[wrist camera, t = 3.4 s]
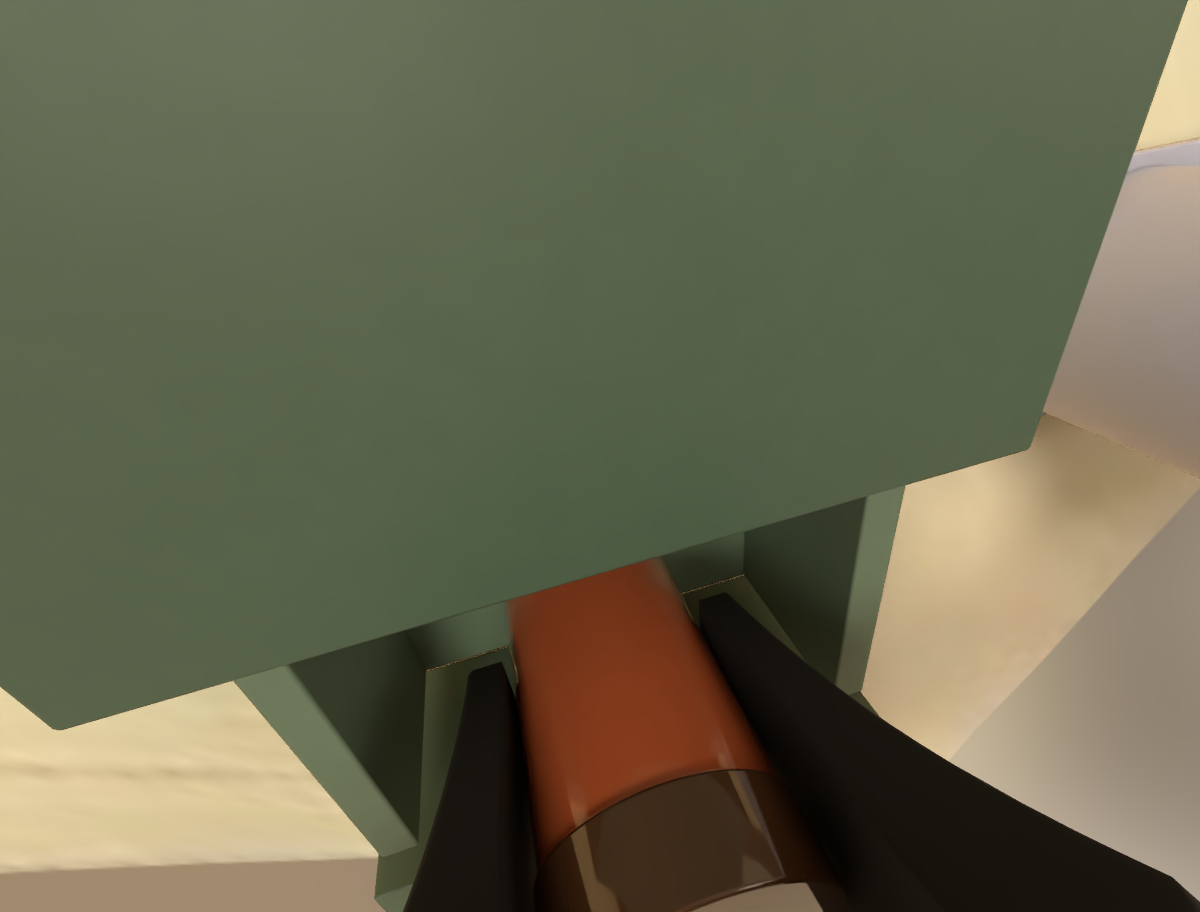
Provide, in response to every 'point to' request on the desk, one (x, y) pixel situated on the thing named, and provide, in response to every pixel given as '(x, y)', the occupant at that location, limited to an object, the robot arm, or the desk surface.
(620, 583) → the spice jar
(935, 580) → the desk surface
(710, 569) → the drawer
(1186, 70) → the desk surface
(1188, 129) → the desk surface
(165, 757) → the desk surface
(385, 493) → the cabinet
